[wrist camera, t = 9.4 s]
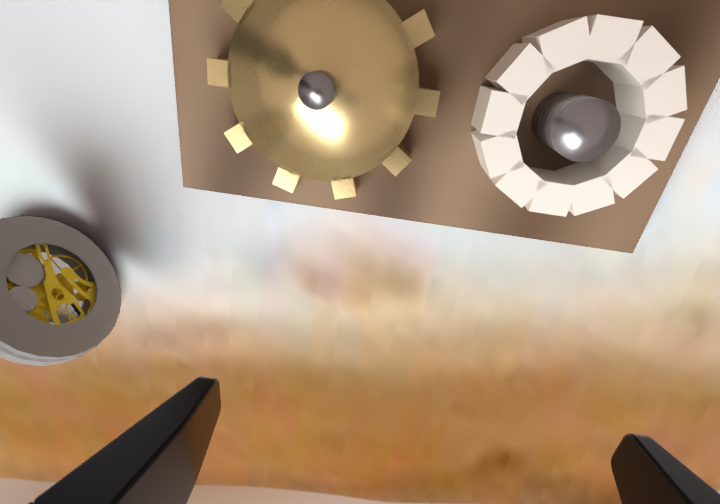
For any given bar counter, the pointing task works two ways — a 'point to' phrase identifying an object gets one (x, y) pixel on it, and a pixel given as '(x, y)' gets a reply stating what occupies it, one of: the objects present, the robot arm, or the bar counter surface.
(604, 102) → the steel peg
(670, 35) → the gear board
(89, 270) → the pocket watch
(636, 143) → the ring gear
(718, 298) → the bar counter surface
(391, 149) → the brass drive gear
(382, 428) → the bar counter surface
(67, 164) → the bar counter surface
